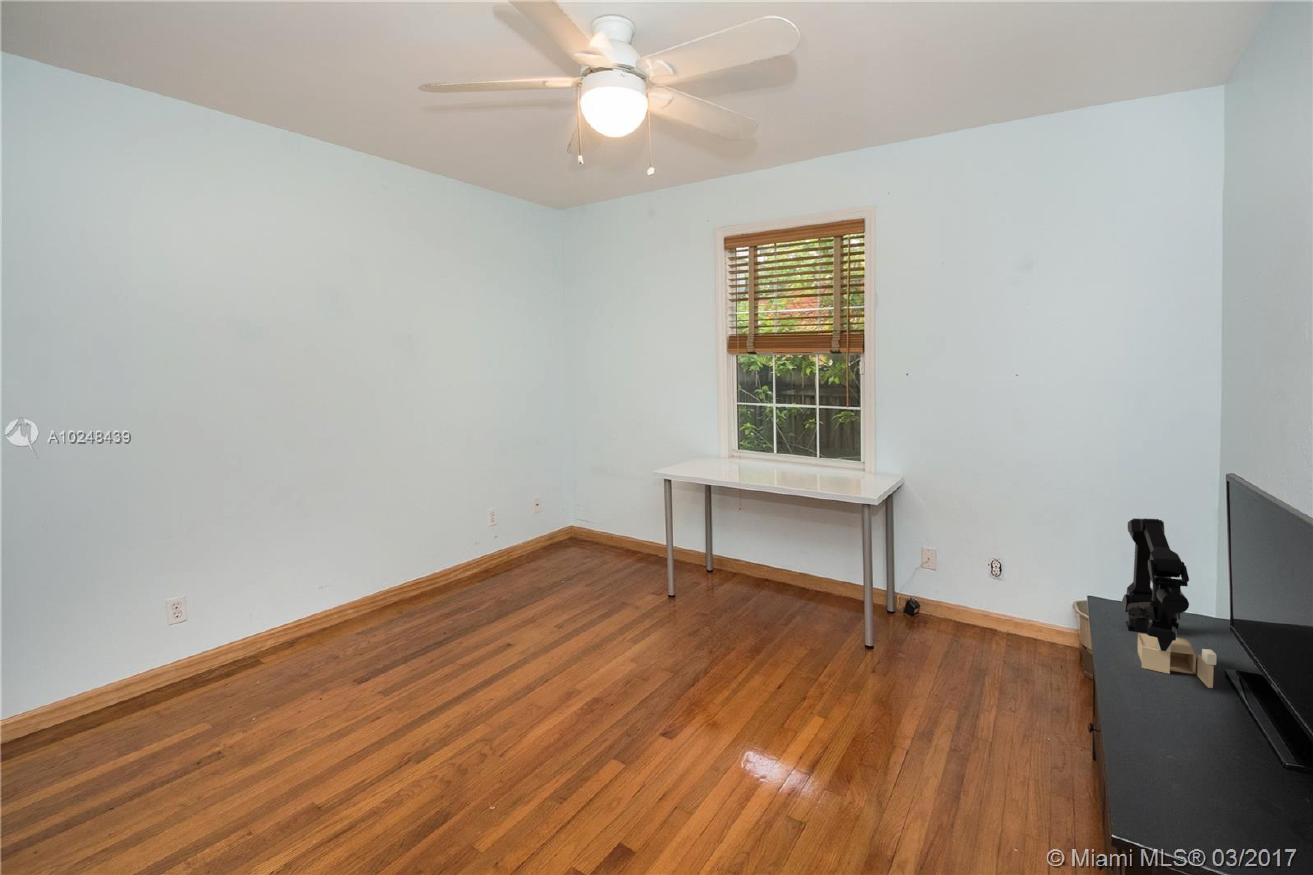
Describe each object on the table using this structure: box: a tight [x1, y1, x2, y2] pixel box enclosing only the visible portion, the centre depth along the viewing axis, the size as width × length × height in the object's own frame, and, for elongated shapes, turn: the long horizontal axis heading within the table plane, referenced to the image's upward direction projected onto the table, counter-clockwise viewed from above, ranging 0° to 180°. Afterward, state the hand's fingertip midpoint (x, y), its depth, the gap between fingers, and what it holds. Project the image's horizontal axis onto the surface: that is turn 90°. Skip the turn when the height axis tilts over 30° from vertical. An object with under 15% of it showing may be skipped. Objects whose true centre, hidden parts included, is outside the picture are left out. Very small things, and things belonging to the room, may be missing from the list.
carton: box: [1137, 632, 1197, 675], centre depth 180 cm, size 9×12×7 cm
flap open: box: [1196, 648, 1217, 689], centre depth 169 cm, size 2×6×10 cm, turn 159°
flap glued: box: [1141, 641, 1171, 675], centre depth 176 cm, size 2×6×10 cm, turn 49°
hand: (1163, 649), depth 175 cm, fingers closed on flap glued, 2 cm apart
